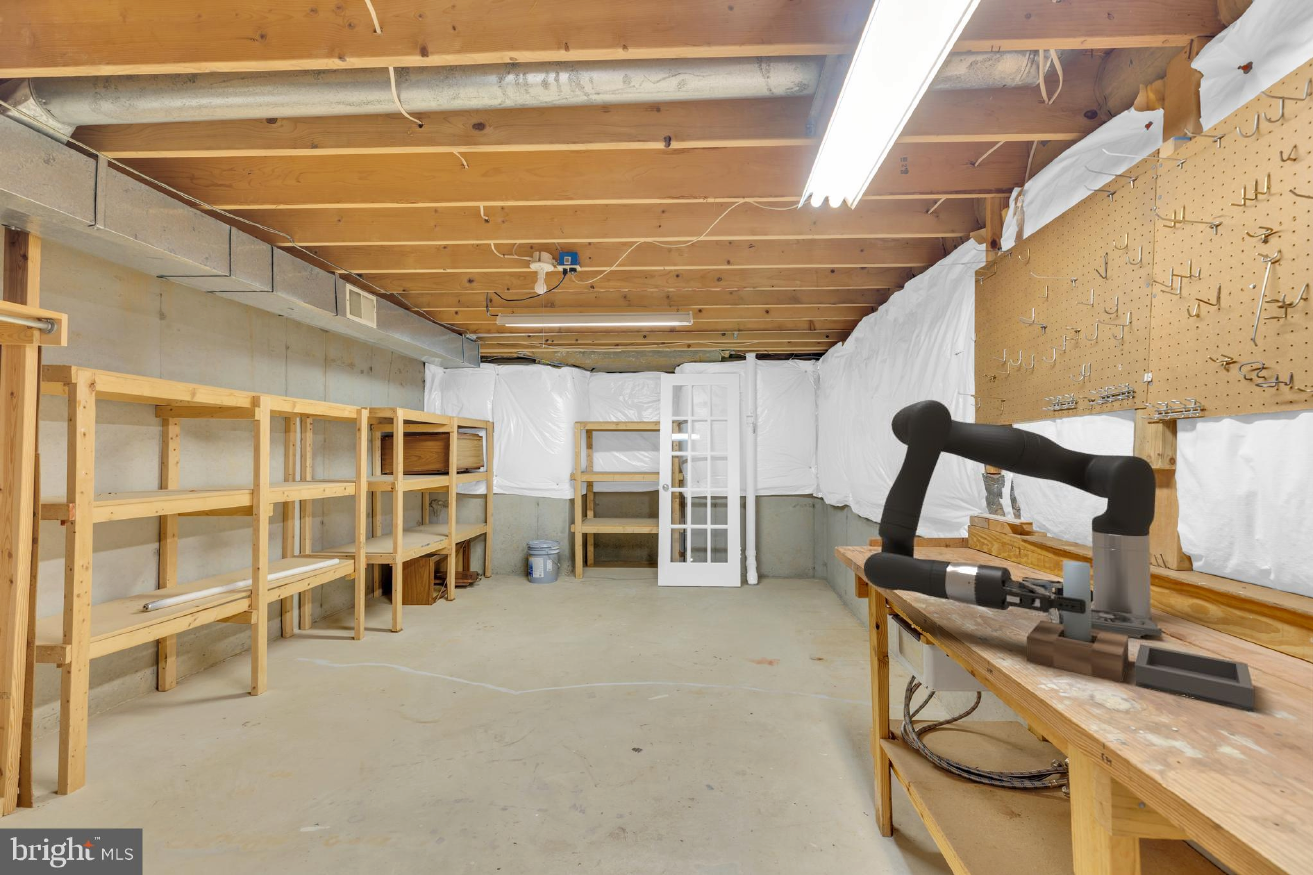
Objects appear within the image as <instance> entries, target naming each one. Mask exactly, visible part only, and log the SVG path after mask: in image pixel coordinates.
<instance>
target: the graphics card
mask: <svg viewBox="0 0 1313 875" xmlns="http://www.w3.org/2000/svg"><path fill="white" fill-rule="evenodd" d="M1045 616H1047V617H1048V616H1049V620H1050V621H1049V622H1053V623H1059V624H1064V611H1061V610H1057V609H1056V611H1050V610H1049V612H1047V613H1046V614H1045ZM1060 622H1061V623H1060ZM1158 626H1159V625H1158V624H1157V623H1156V622H1155V621H1152V616H1151V617H1149V616H1143V615H1135V614H1127V613H1119V612H1111V611H1103V610H1094V609H1093V608H1091V629H1093V630H1099V631H1104V632H1110V633H1116V634H1121V635H1127V636H1128V638H1129V637H1130V638H1138V639H1141V636H1145V635H1151V636H1157V637H1158V636H1159V637H1160V636H1162V634H1163V628H1162V627H1158Z"/></svg>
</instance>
